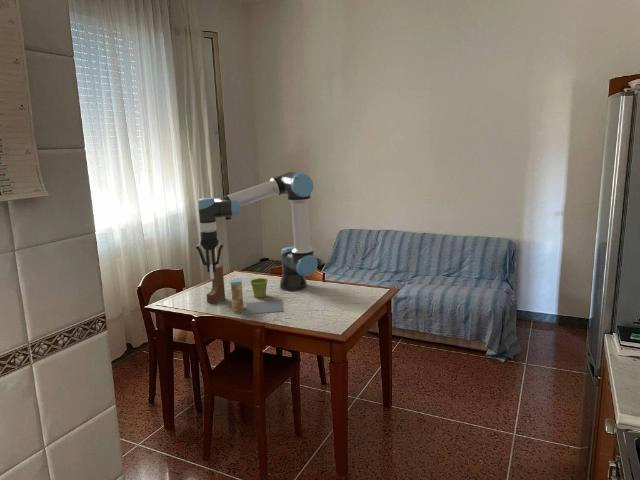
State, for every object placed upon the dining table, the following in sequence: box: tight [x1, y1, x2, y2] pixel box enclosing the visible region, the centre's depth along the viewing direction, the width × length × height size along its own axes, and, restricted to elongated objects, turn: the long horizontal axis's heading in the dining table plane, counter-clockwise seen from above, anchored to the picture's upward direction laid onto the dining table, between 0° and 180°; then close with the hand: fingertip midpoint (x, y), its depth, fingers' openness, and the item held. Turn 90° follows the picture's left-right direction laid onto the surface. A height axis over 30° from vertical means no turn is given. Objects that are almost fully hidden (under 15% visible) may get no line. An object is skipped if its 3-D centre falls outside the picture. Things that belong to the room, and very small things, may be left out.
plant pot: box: [249, 277, 269, 299], centre depth 250 cm, size 9×9×9 cm
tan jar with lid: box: [230, 278, 245, 313], centre depth 230 cm, size 5×5×15 cm
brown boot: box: [206, 264, 226, 304], centre depth 245 cm, size 9×4×18 cm, turn 145°
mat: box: [245, 299, 284, 315], centre depth 233 cm, size 18×16×1 cm
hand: (212, 278), depth 226 cm, fingers closed
